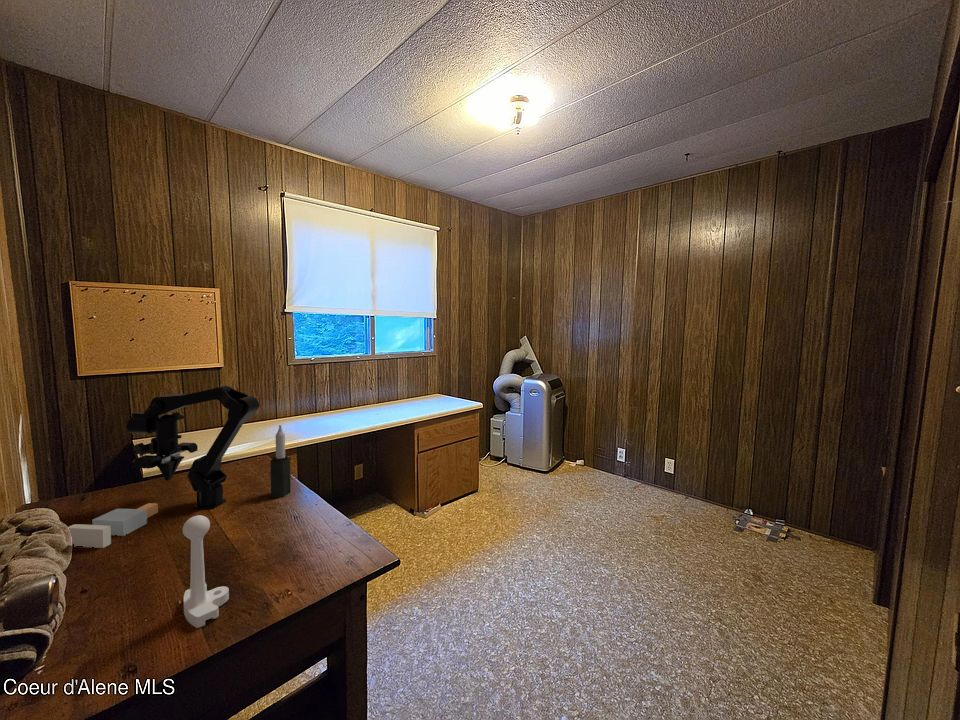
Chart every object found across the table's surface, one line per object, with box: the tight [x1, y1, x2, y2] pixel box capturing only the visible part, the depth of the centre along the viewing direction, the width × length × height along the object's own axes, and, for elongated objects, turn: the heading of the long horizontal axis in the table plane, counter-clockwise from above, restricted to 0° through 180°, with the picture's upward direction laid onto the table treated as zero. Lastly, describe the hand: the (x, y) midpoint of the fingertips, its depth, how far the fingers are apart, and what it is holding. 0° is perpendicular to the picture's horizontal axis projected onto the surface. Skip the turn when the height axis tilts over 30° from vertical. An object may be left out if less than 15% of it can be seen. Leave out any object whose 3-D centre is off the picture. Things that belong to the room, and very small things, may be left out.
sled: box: [91, 508, 148, 537], centre depth 109 cm, size 9×7×4 cm
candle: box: [270, 424, 291, 498], centre depth 134 cm, size 5×5×25 cm
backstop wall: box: [68, 523, 112, 549], centre depth 100 cm, size 10×2×5 cm, turn 88°
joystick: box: [182, 515, 230, 629], centre depth 79 cm, size 11×8×20 cm
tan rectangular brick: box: [137, 502, 159, 519], centre depth 116 cm, size 3×6×3 cm, turn 178°
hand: (168, 480), depth 124 cm, fingers closed
